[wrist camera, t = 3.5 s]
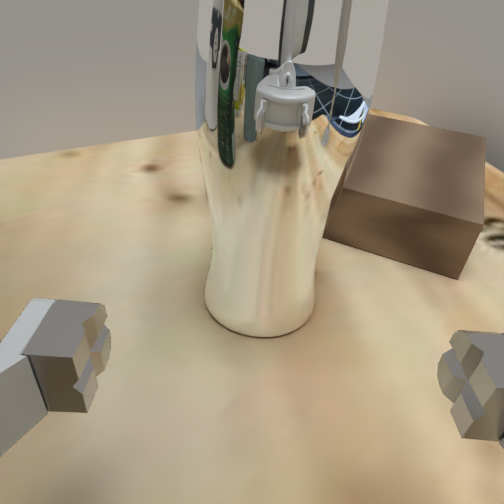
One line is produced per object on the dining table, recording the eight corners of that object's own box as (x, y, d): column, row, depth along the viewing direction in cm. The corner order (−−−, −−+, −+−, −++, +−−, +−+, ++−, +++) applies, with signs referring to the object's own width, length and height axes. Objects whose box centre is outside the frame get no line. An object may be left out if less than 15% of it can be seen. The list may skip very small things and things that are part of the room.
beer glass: (253, 247, 26) (279, -32, 18) (345, 298, 23) (433, -18, 14) (169, 296, 22) (150, -44, 13) (267, 369, 18) (327, -28, 10)
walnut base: (210, 201, 31) (211, 152, 29) (294, 137, 45) (300, 100, 42) (457, 279, 25) (483, 224, 23) (468, 178, 39) (485, 137, 36)
